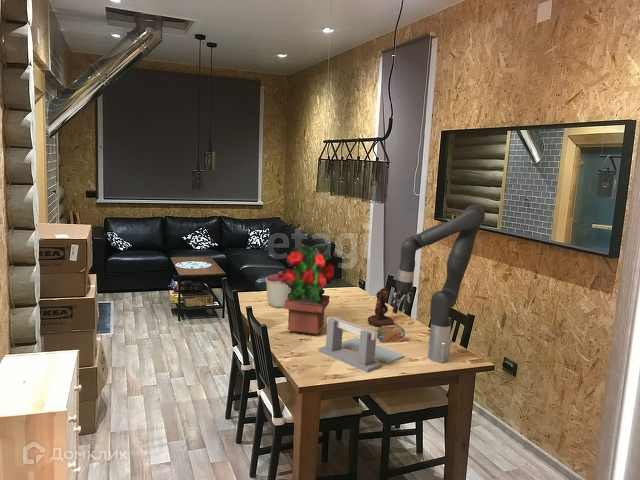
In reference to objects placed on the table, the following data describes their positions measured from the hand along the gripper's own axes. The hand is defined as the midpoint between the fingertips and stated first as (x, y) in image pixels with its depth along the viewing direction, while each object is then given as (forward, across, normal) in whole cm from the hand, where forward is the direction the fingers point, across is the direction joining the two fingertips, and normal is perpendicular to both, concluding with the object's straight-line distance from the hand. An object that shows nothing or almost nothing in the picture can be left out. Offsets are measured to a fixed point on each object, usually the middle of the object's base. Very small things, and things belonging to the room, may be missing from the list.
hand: (400, 311), depth 247 cm
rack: (+21, -25, +7) cm, 33 cm away
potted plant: (+24, -15, +46) cm, 54 cm away
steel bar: (+8, -25, +8) cm, 27 cm away
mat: (+21, -9, +7) cm, 24 cm away
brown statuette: (+23, +27, +30) cm, 46 cm away
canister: (+27, +3, +88) cm, 92 cm away
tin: (+22, +9, +10) cm, 25 cm away
